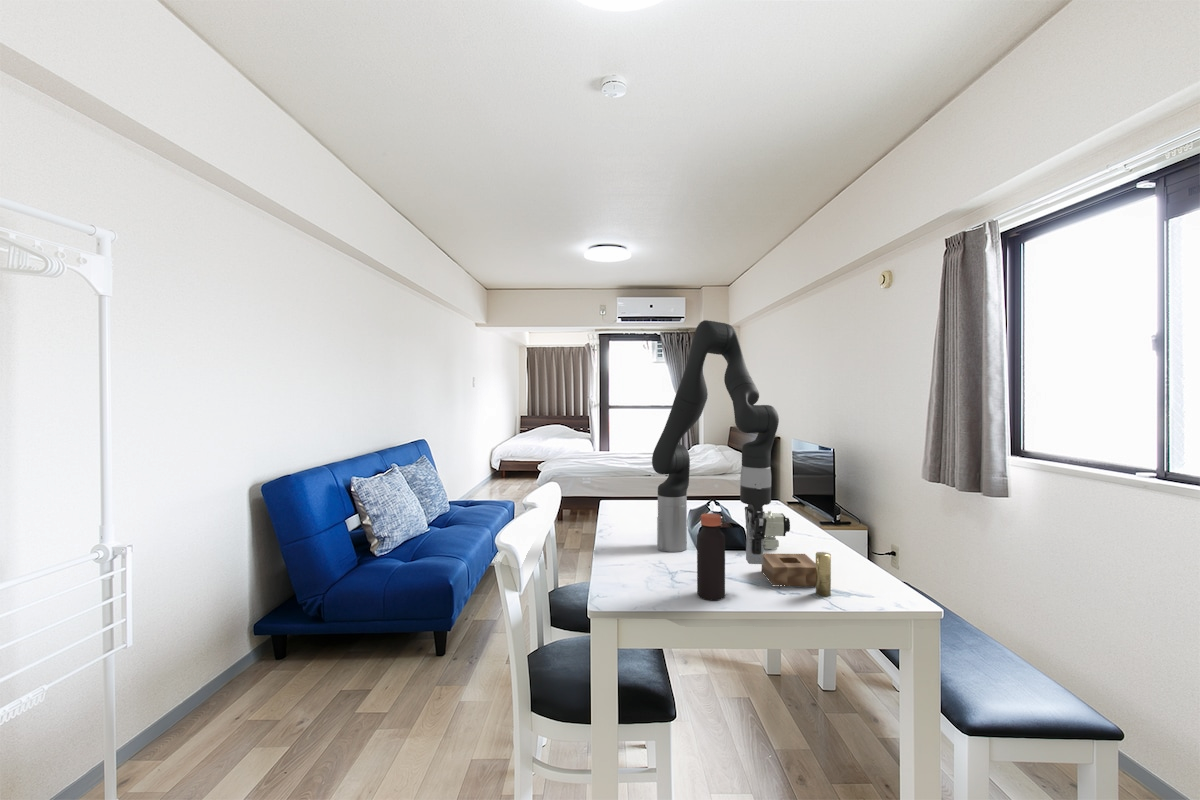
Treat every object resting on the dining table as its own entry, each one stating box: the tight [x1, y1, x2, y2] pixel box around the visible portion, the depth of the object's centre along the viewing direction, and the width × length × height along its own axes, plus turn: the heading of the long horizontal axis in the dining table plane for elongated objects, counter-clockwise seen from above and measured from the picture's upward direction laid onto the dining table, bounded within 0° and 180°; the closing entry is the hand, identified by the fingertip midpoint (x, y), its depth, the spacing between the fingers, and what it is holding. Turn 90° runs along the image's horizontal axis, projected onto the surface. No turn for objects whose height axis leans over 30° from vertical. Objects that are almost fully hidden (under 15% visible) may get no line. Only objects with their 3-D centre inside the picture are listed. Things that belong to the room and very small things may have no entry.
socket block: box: [761, 553, 816, 587], centre depth 150 cm, size 12×12×5 cm
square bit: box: [745, 521, 764, 565], centre depth 142 cm, size 4×4×10 cm
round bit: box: [815, 551, 832, 598], centre depth 139 cm, size 4×4×10 cm
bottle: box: [696, 512, 726, 601], centre depth 138 cm, size 7×7×20 cm
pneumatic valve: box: [763, 510, 791, 550], centre depth 178 cm, size 6×12×12 cm, turn 83°
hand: (754, 551), depth 142 cm, fingers closed on square bit, 3 cm apart
